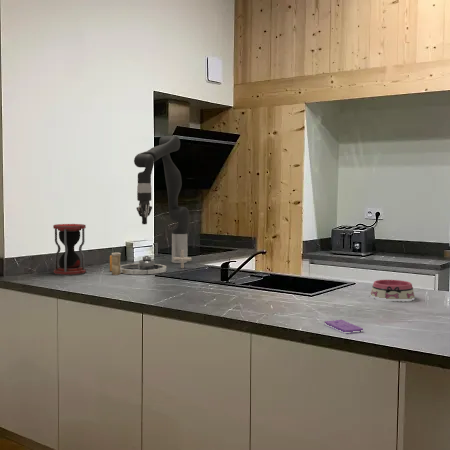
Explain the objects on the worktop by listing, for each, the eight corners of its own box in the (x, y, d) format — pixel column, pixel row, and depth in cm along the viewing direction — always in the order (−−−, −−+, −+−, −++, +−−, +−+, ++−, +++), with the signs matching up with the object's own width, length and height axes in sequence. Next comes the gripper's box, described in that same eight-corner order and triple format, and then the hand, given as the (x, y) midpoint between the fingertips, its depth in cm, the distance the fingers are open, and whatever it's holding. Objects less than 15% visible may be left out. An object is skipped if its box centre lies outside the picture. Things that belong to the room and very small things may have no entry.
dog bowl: (369, 301, 235) (369, 284, 235) (370, 293, 253) (370, 277, 253) (416, 304, 230) (416, 287, 230) (413, 295, 248) (414, 280, 248)
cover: (144, 268, 316) (144, 254, 315) (156, 269, 312) (156, 255, 312) (136, 270, 308) (136, 256, 308) (149, 271, 305) (149, 257, 305)
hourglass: (80, 275, 289) (80, 226, 287) (49, 274, 289) (48, 225, 287) (89, 270, 305) (89, 223, 303) (59, 270, 305) (59, 223, 303)
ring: (112, 267, 317) (112, 252, 316) (166, 267, 320) (166, 252, 319) (107, 274, 291) (107, 258, 291) (166, 274, 294) (166, 258, 293)
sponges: (341, 324, 196) (341, 319, 195) (363, 333, 184) (363, 327, 184) (323, 326, 193) (324, 320, 193) (345, 335, 181) (345, 329, 181)
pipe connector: (190, 269, 314) (190, 251, 313) (172, 269, 314) (172, 251, 313) (191, 266, 324) (192, 249, 323) (174, 266, 324) (174, 249, 323)
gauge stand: (114, 273, 297) (114, 252, 296) (122, 274, 295) (122, 252, 294) (110, 274, 293) (110, 253, 292) (117, 275, 291) (117, 253, 290)
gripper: (144, 191, 312) (144, 223, 314) (131, 192, 300) (131, 224, 301) (156, 191, 309) (156, 223, 311) (144, 192, 297) (144, 225, 299)
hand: (144, 224), depth 306 cm, fingers closed
